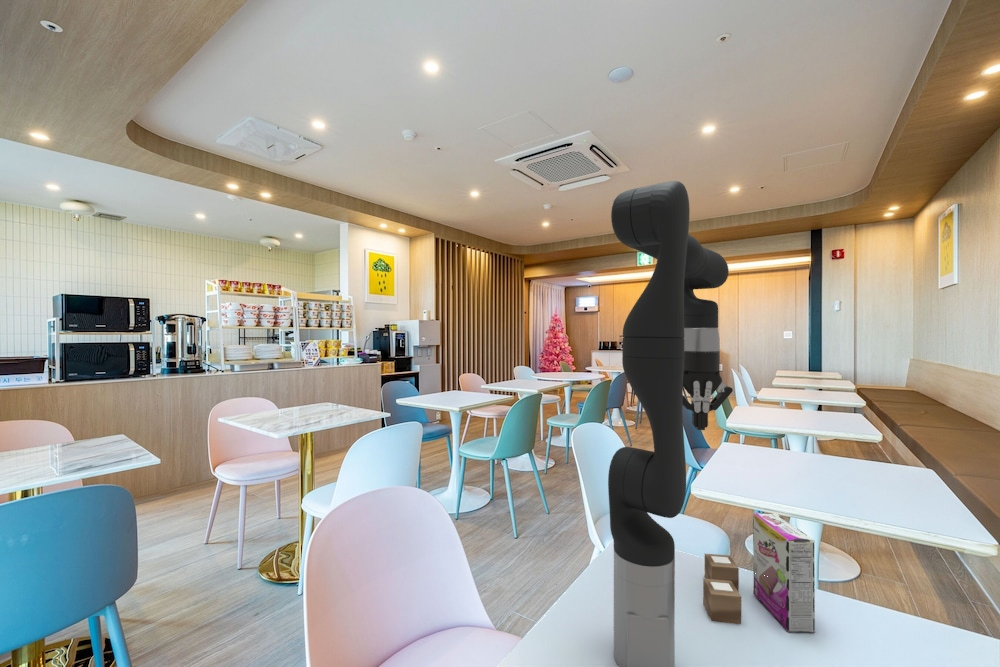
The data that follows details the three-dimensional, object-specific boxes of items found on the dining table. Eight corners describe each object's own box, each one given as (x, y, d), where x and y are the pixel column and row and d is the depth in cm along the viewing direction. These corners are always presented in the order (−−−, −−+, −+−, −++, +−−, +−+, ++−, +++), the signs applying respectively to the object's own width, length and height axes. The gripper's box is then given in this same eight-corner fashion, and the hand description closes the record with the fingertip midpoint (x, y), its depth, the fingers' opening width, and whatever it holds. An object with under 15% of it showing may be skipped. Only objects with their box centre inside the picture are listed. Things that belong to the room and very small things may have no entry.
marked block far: (738, 593, 87) (738, 567, 87) (711, 590, 88) (711, 565, 88) (729, 579, 92) (729, 554, 92) (704, 576, 93) (704, 552, 93)
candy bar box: (751, 594, 87) (751, 512, 86) (776, 595, 86) (777, 512, 86) (787, 633, 75) (787, 539, 75) (816, 634, 75) (816, 539, 75)
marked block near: (741, 624, 78) (741, 595, 78) (711, 621, 79) (711, 593, 79) (731, 607, 83) (731, 579, 83) (703, 604, 84) (703, 577, 84)
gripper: (671, 349, 92) (671, 432, 92) (739, 350, 89) (739, 434, 90) (664, 348, 99) (664, 424, 99) (726, 348, 97) (726, 426, 97)
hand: (700, 429), depth 94 cm, fingers closed
